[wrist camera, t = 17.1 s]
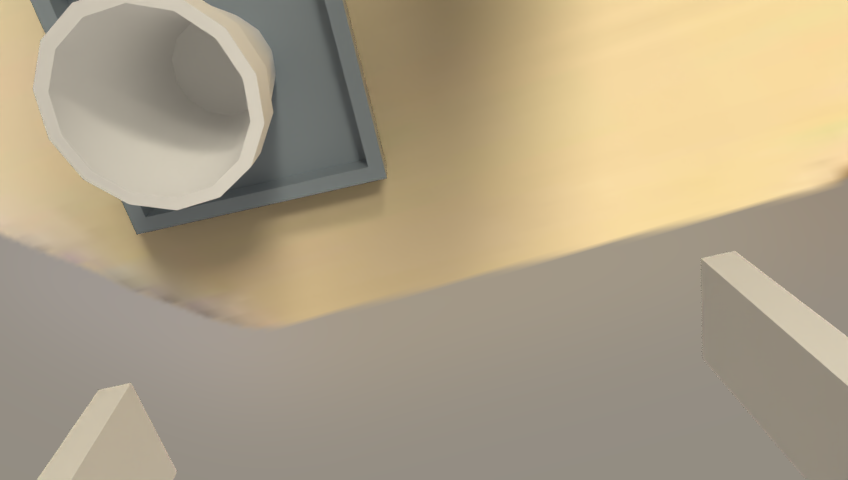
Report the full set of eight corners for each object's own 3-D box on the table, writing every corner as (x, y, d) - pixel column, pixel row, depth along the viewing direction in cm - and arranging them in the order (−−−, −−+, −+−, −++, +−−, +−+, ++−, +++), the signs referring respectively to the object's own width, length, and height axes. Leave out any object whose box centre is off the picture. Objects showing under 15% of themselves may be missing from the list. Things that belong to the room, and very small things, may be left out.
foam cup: (186, 156, 39) (102, 233, 27) (118, 13, 35) (-14, 30, 24) (321, 114, 39) (296, 174, 27) (267, -36, 35) (209, -43, 23)
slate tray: (37, -43, 35) (10, -45, 32) (318, -109, 34) (313, -117, 32) (151, 218, 42) (136, 234, 39) (386, 165, 41) (386, 178, 39)
